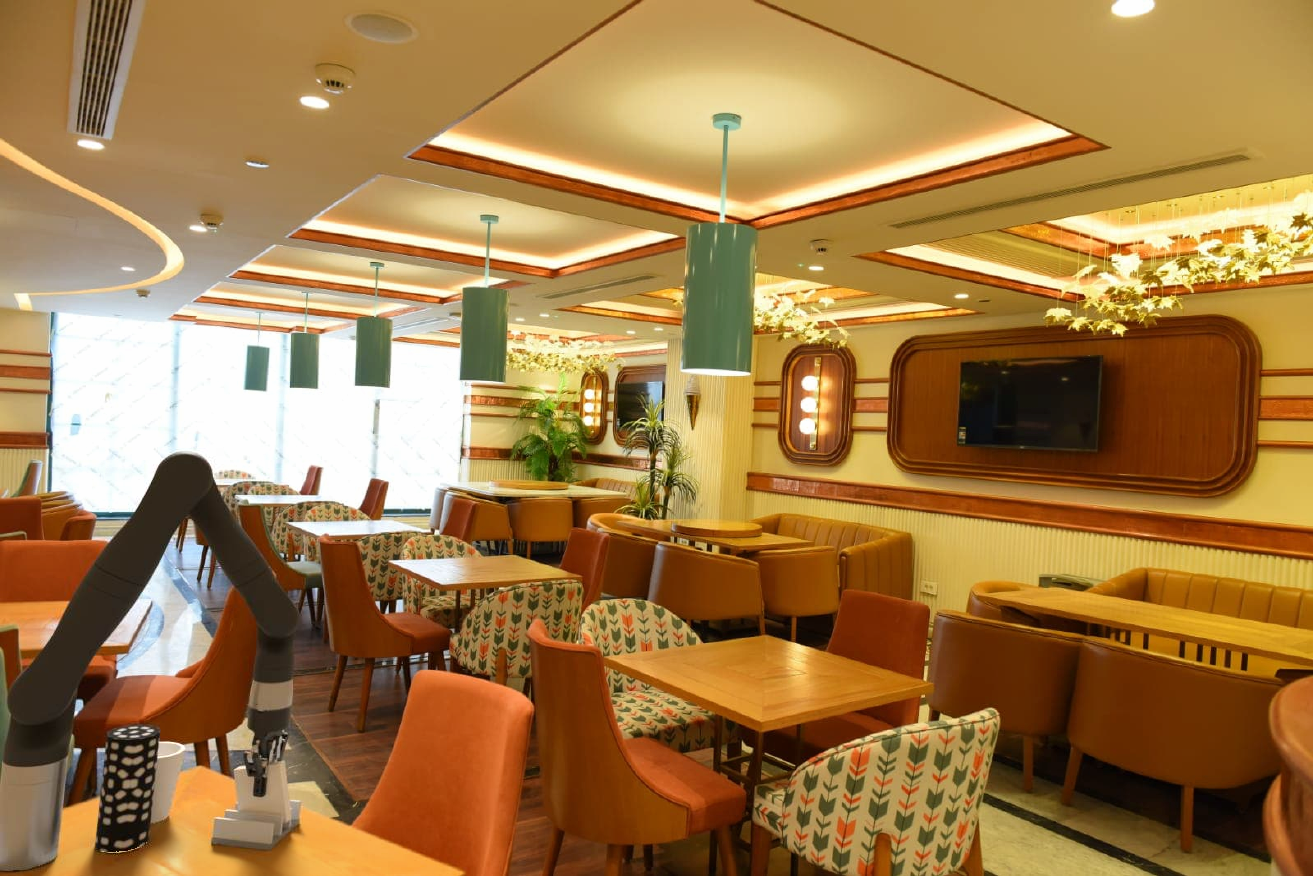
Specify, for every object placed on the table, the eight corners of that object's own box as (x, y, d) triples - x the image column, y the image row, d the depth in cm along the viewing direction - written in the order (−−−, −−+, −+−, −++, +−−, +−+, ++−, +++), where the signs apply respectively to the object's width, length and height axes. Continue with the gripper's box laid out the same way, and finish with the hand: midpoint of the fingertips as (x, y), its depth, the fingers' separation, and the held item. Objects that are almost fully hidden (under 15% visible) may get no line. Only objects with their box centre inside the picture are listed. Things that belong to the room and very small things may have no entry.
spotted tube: (123, 857, 150) (135, 742, 151) (83, 849, 152) (95, 735, 152) (159, 838, 158) (171, 729, 159) (121, 830, 160) (132, 722, 160)
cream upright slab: (240, 828, 163) (233, 770, 163) (246, 824, 165) (239, 766, 165) (286, 822, 162) (279, 764, 163) (291, 818, 164) (284, 760, 165)
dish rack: (210, 843, 158) (213, 819, 158) (245, 817, 170) (247, 794, 170) (269, 850, 157) (271, 825, 157) (299, 823, 169) (301, 800, 169)
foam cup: (187, 817, 167) (194, 750, 168) (137, 832, 160) (145, 762, 160) (161, 803, 172) (168, 738, 173) (112, 817, 165) (119, 749, 165)
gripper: (269, 691, 171) (261, 778, 171) (232, 710, 157) (223, 806, 157) (306, 694, 171) (298, 782, 170) (272, 714, 157) (263, 810, 157)
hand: (262, 793), depth 164 cm, fingers closed on cream upright slab, 2 cm apart
